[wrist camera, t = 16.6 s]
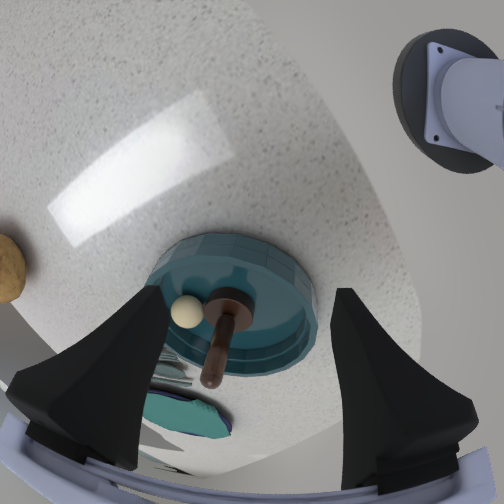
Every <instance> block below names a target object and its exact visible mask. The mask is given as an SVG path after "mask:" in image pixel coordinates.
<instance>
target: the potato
mask: <svg viewBox="0 0 504 504" xmlns="http://www.w3.org/2000/svg"><path fill="white" fill-rule="evenodd" d="M24 287H25V261H24V258H23V256H22V253H21V251H20V249H19V248H18V247H17V245H16V244H15V243H14V241H13V240H12V239H10V238H8V237H7V236H5V235H3V234H1V233H0V303H7V302H11V301H13V300H15V299H17V298H18V297H19V296H20V295H21V293H22V291H23V289H24Z"/></svg>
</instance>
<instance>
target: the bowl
mask: <svg viewBox="0 0 504 504" xmlns="http://www.w3.org/2000/svg"><path fill="white" fill-rule="evenodd" d="M146 285H158V286H160V289H161V292H162V295H163V299H164V302H165V305H166V308H167V312H168V315H169V318H170V324H169V328H168V333H167V337H166V341H165V344H164V346H165V347H166V348H167V349H168V350H170V351H171V352H172V353H174V354H175V355H176V356H178V357H179V358H181V359H183V360H185V361H187V362H189V363H191V364H193V365H195V366H197V367H199V368H202V369H203V366H204V362H205V359H206V356H207V352H208V349H209V346H210V342H211V339H212V336H213V332H214V329H215V327H213V326H212V325H211V324H210V323H209V322H208V321H207V320H206V318H205V316H203V319H202V321H201V322H200V323H199V324H198V325H197V326H195V327H193V328H183V327H180V326H179V325H177V324H176V323H175V322H174V320H173V318H172V316H171V307H172V304H173V303H174V301H175V300H176V299H177V298H179V297H181V296H184V295H190V296H193V297H195V298H197V299H198V300H199V301H200V302H201V304H202V306H203V309H204V307H205V304H206V301H207V299H208V296H209V294H210V293H211V292H212V291H214V290H216V289H218V288H222V287H231V288H236V289H239V290H241V291H243V292H245V293H246V294H248V295H249V296H250V297H251V299H252V300H253V302H254V305H255V312H254V317H253V322H252V324H251V326H250V327H249V328H248V329H246V330H244V331H241V332H235V333H233V337H232V341H231V345H230V349H229V353H228V357H227V361H226V366H225V370H224V374H223V375H230V376H240V377H254V376H267V375H270V374H274V373H277V372H280V371H284V370H287V369H289V368H290V367H292V366H293V365H295V364H297V363H298V362H300V361H301V360H303V359H304V358H305V357H306V355H307V354H308V353H309V351H310V350H311V349H312V347H313V346H314V345H315V341H316V335H317V330H318V310H317V299H316V295H315V292H314V289H313V285H312V282H311V280H310V278H309V277H308V276H307V275H306V274H305V272H304V271H303V270H302V269H301V267H300V266H299V265H298V264H297V262H296V261H295V260H294V259H292V258H291V257H289V256H288V255H286V254H285V253H283V252H282V251H280V250H279V249H277V248H275V247H274V246H272V245H271V244H269V243H266V242H263V241H260V240H256V239H253V238H250V237H247V236H243V235H240V234H223V233H206V234H202V235H199V236H195V237H192V238H189V239H185V240H182V241H180V242H179V243H177V244H176V245H175V246H174V247H172V248H171V249H170V250H168V251H167V252H166V253H164V254H163V255H162V257H161V258H160V260H159V262H158V263H157V265H156V266H155V268H154V269H153V271H152V273H151V274H150V276H149V278H148V280H147V282H146V284H145V286H146ZM145 286H144V287H145Z"/></svg>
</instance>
